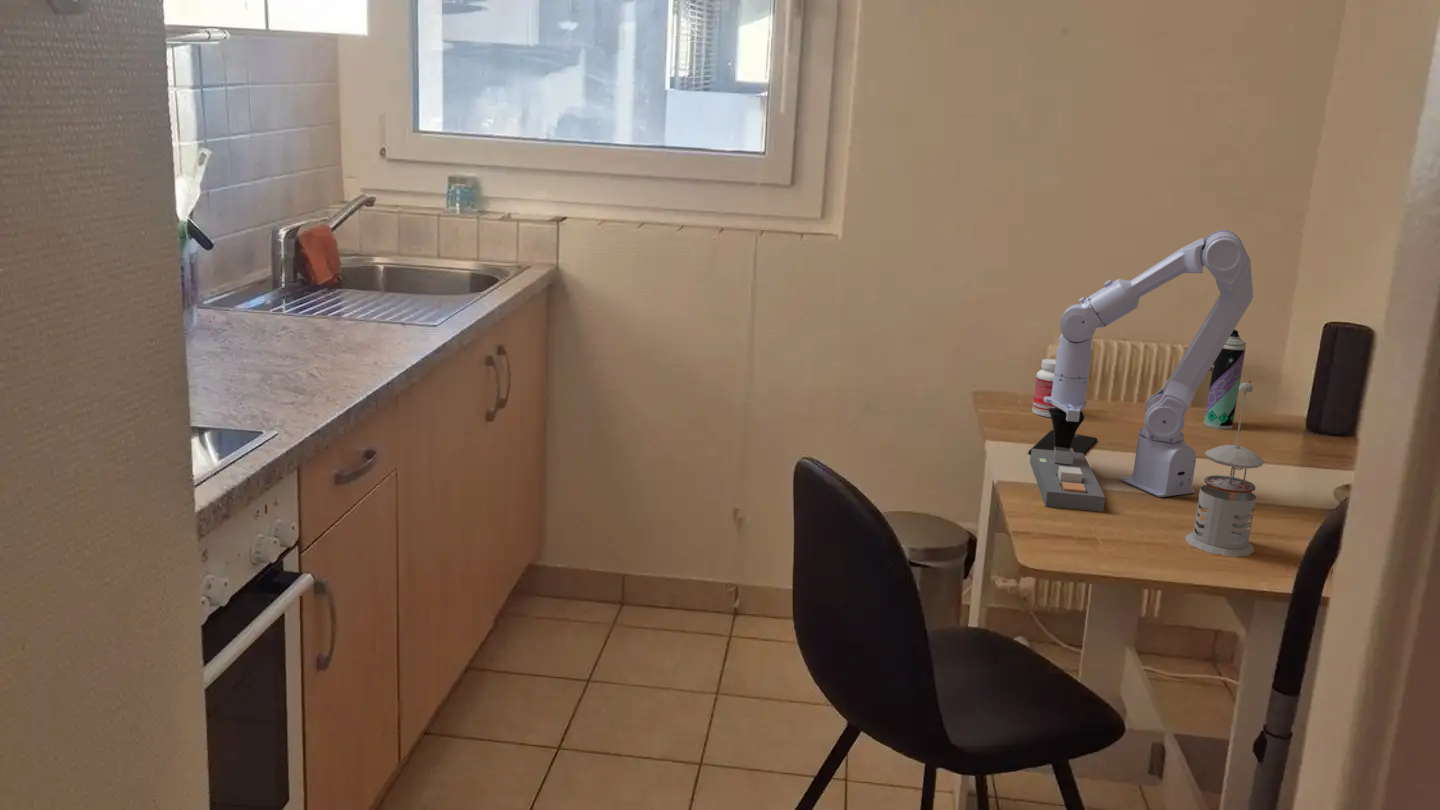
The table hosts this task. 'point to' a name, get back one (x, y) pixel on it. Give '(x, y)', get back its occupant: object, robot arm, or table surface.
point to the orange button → (1073, 487)
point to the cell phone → (1078, 443)
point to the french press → (1227, 501)
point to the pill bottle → (1044, 388)
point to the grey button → (1069, 474)
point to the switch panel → (1052, 488)
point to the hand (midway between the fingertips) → (1061, 450)
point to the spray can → (1225, 384)
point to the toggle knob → (1063, 455)
